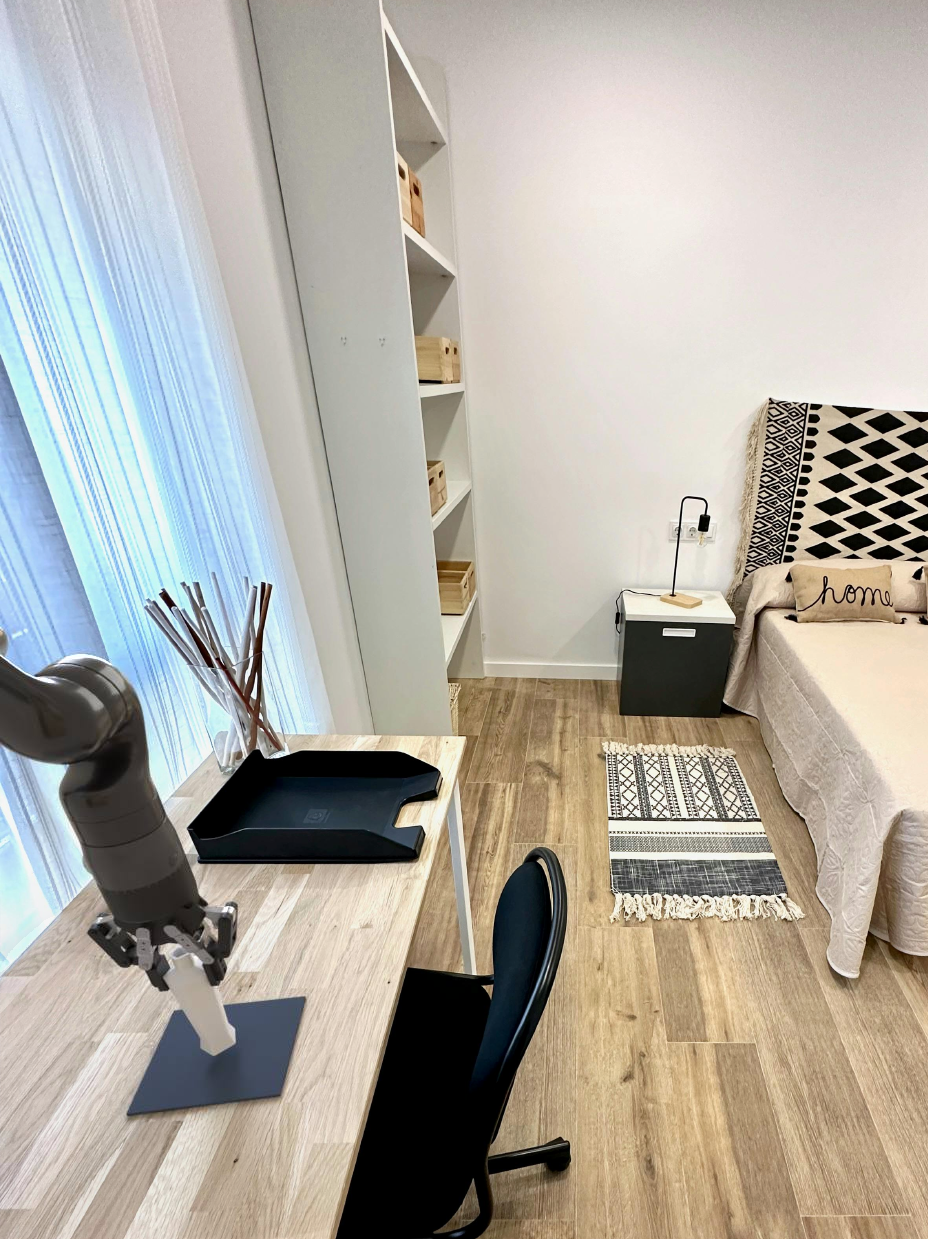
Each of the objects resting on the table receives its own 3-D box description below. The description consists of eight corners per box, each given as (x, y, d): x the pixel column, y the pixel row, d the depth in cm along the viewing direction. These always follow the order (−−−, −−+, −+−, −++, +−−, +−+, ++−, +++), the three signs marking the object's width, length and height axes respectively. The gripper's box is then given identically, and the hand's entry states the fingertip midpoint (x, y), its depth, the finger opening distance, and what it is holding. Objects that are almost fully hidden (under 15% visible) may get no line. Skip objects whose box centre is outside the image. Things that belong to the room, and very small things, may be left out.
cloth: (127, 1116, 72) (125, 1114, 72) (174, 1012, 83) (173, 1010, 83) (280, 1096, 74) (279, 1094, 74) (306, 998, 86) (305, 995, 86)
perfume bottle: (196, 1033, 78) (155, 945, 71) (237, 1020, 80) (201, 932, 72) (196, 1064, 75) (153, 974, 67) (239, 1049, 77) (201, 960, 69)
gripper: (230, 834, 67) (269, 951, 76) (77, 845, 65) (137, 964, 74) (206, 881, 61) (252, 1002, 70) (36, 895, 59) (106, 1018, 68)
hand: (192, 982), depth 72 cm, fingers closed on perfume bottle, 4 cm apart
